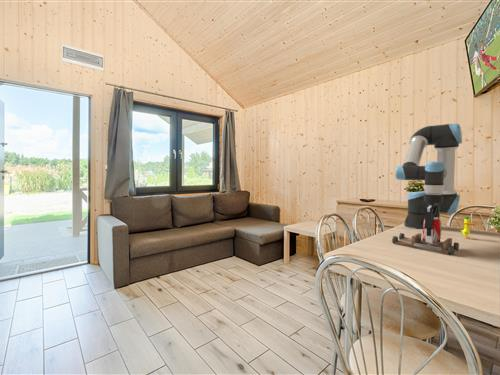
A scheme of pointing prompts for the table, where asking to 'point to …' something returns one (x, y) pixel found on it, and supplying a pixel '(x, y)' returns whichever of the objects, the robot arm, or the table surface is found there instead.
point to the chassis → (426, 244)
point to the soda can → (434, 230)
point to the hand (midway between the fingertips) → (431, 240)
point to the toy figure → (466, 225)
